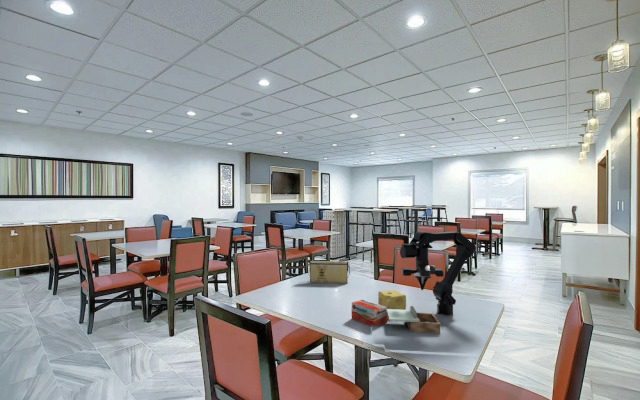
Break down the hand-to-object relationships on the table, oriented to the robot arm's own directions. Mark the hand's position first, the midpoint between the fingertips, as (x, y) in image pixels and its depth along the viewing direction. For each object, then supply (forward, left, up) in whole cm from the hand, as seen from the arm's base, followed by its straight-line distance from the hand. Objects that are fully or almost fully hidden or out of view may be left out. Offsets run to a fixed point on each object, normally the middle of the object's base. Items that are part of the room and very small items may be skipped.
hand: (422, 289), depth 147 cm
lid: (+12, +14, -8) cm, 20 cm away
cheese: (+14, -4, -13) cm, 20 cm away
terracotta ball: (+5, +12, -12) cm, 18 cm away
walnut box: (+3, +14, -13) cm, 19 cm away
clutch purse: (+50, -58, -13) cm, 78 cm away
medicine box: (+26, +8, -13) cm, 30 cm away
